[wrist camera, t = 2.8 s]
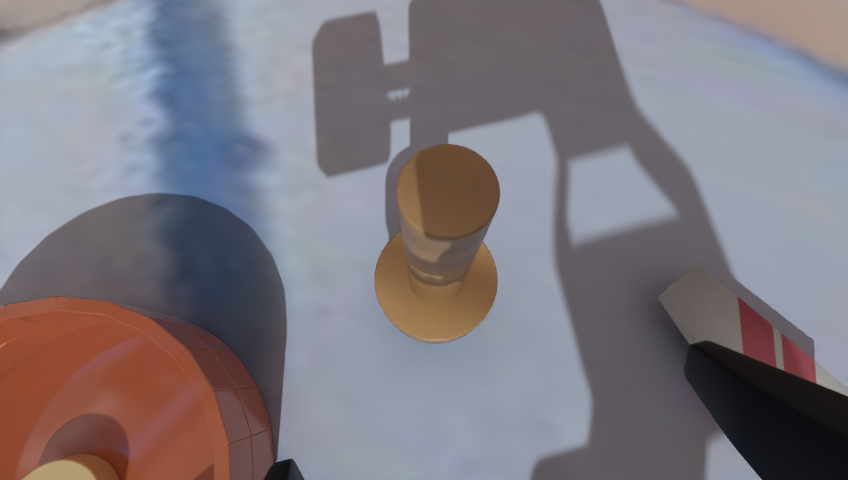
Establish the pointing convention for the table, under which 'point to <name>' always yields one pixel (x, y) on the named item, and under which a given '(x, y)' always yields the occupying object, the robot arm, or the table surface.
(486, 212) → the dish brush
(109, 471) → the biscuit piece
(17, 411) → the terracotta bowl
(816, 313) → the table surface
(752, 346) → the paintbrush
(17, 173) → the table surface
